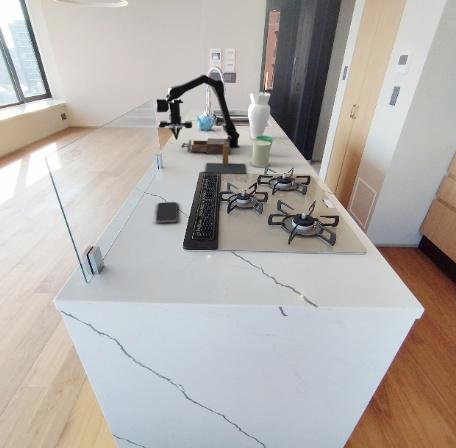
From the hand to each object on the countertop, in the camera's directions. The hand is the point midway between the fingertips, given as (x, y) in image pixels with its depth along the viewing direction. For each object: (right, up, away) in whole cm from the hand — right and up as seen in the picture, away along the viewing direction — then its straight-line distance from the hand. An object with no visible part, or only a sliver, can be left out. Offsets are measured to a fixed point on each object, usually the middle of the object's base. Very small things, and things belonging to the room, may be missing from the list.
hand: (176, 139), depth 169 cm
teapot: (+14, +23, +51) cm, 58 cm away
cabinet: (+25, -6, +3) cm, 26 cm away
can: (+47, -18, -15) cm, 53 cm away
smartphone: (+6, -47, -64) cm, 79 cm away
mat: (+29, -22, -22) cm, 42 cm away
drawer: (+11, -5, +3) cm, 13 cm away
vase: (+52, +10, +31) cm, 61 cm away
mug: (+51, -9, +1) cm, 52 cm away
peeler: (+29, -18, -18) cm, 38 cm away
